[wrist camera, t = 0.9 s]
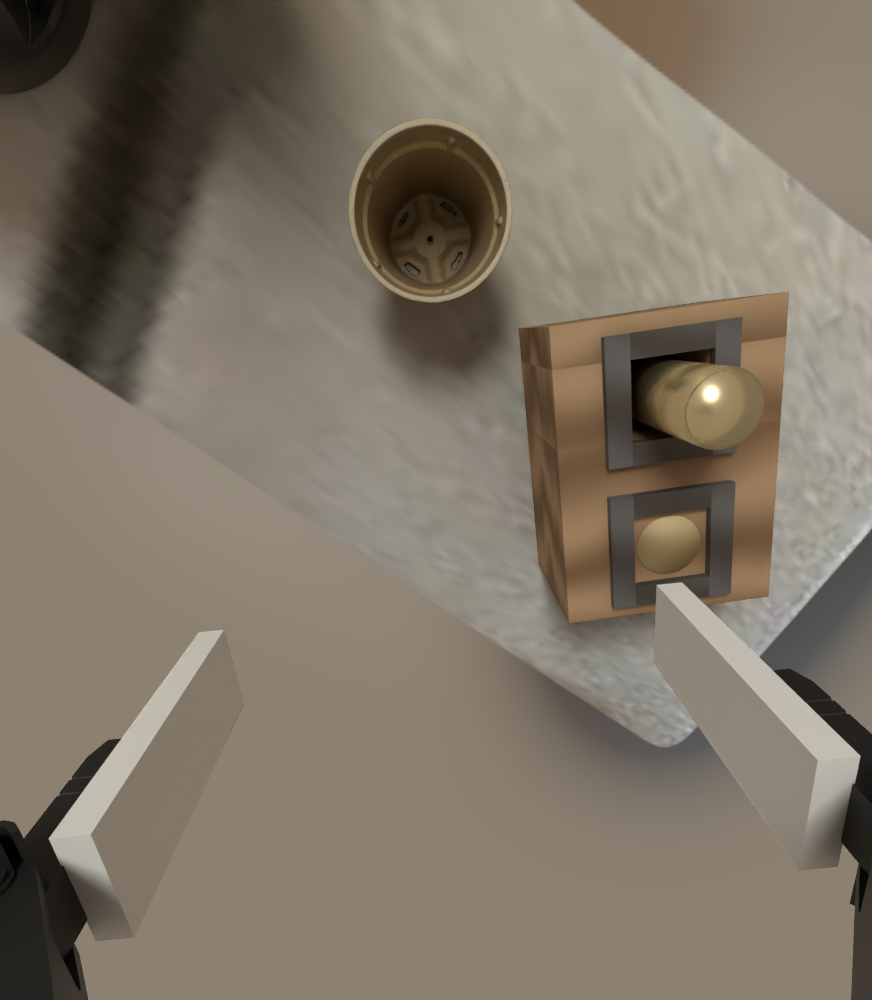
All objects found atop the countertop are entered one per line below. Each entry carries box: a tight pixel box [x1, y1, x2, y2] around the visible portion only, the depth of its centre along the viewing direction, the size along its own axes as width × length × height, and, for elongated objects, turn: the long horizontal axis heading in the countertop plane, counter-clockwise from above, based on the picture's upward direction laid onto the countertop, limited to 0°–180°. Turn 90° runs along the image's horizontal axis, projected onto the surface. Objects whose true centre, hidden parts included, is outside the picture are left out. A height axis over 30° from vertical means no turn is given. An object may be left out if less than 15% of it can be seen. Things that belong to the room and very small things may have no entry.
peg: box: [631, 359, 765, 450], centre depth 30 cm, size 4×4×8 cm
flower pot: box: [348, 118, 512, 303], centre depth 34 cm, size 9×9×9 cm
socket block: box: [519, 292, 789, 623], centre depth 38 cm, size 20×14×11 cm
